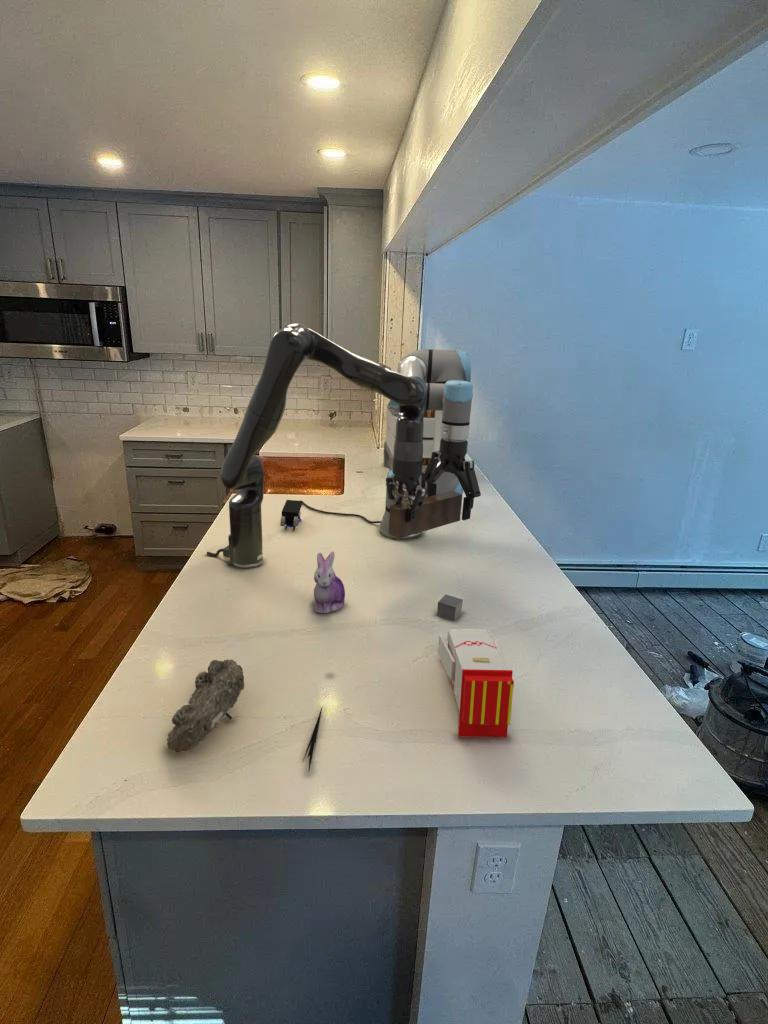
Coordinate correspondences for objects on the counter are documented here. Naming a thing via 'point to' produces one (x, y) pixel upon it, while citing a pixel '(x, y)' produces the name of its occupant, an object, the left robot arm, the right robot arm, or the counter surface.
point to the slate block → (449, 607)
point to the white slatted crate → (391, 431)
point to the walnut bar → (426, 514)
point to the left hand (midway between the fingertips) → (403, 519)
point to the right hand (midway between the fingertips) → (447, 512)
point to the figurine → (327, 586)
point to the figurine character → (291, 514)
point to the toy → (478, 682)
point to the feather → (313, 740)
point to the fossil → (206, 705)
